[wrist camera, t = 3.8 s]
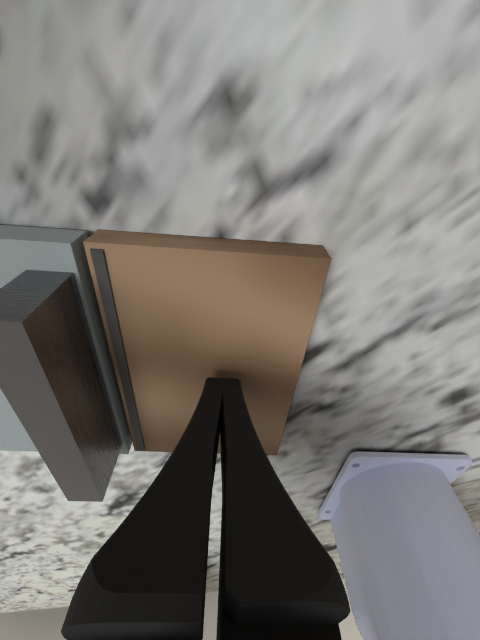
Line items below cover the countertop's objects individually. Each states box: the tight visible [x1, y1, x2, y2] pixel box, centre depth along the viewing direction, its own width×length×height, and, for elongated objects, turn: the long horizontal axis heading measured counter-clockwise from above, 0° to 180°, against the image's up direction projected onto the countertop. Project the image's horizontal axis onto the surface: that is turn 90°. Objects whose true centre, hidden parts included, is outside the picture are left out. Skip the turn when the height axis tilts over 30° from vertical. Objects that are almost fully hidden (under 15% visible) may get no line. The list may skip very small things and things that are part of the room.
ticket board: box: [83, 230, 331, 455], centre depth 13 cm, size 12×8×1 cm, turn 176°
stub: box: [0, 225, 132, 502], centre depth 11 cm, size 12×7×4 cm, turn 176°
